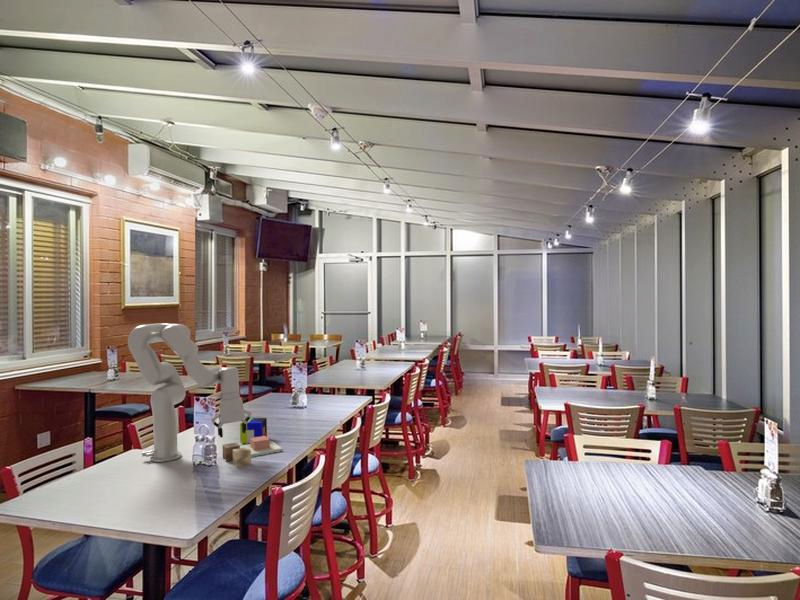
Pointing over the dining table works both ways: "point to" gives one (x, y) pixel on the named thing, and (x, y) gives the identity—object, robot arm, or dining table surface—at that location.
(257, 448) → the build board
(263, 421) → the puzzle toy
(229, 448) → the walnut brick
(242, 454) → the maple brick
